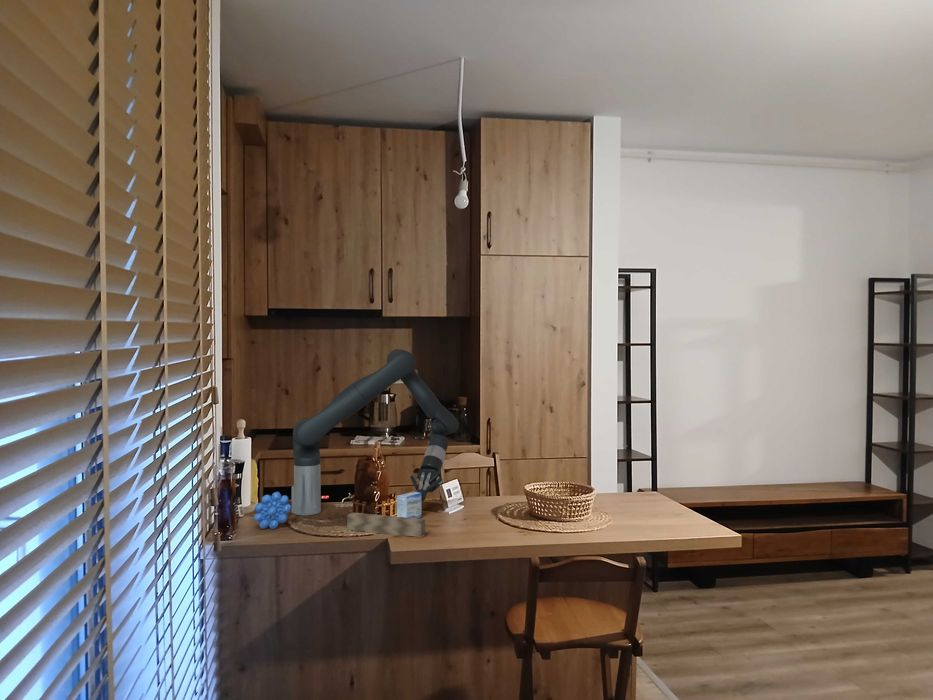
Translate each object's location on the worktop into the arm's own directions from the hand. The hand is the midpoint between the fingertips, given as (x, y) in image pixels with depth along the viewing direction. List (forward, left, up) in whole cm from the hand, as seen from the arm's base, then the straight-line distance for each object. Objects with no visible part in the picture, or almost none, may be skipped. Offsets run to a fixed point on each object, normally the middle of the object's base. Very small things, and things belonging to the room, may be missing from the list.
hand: (419, 500), depth 232 cm
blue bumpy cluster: (-37, -34, -5) cm, 50 cm away
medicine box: (0, -9, -5) cm, 10 cm away
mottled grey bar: (0, -26, -4) cm, 27 cm away
